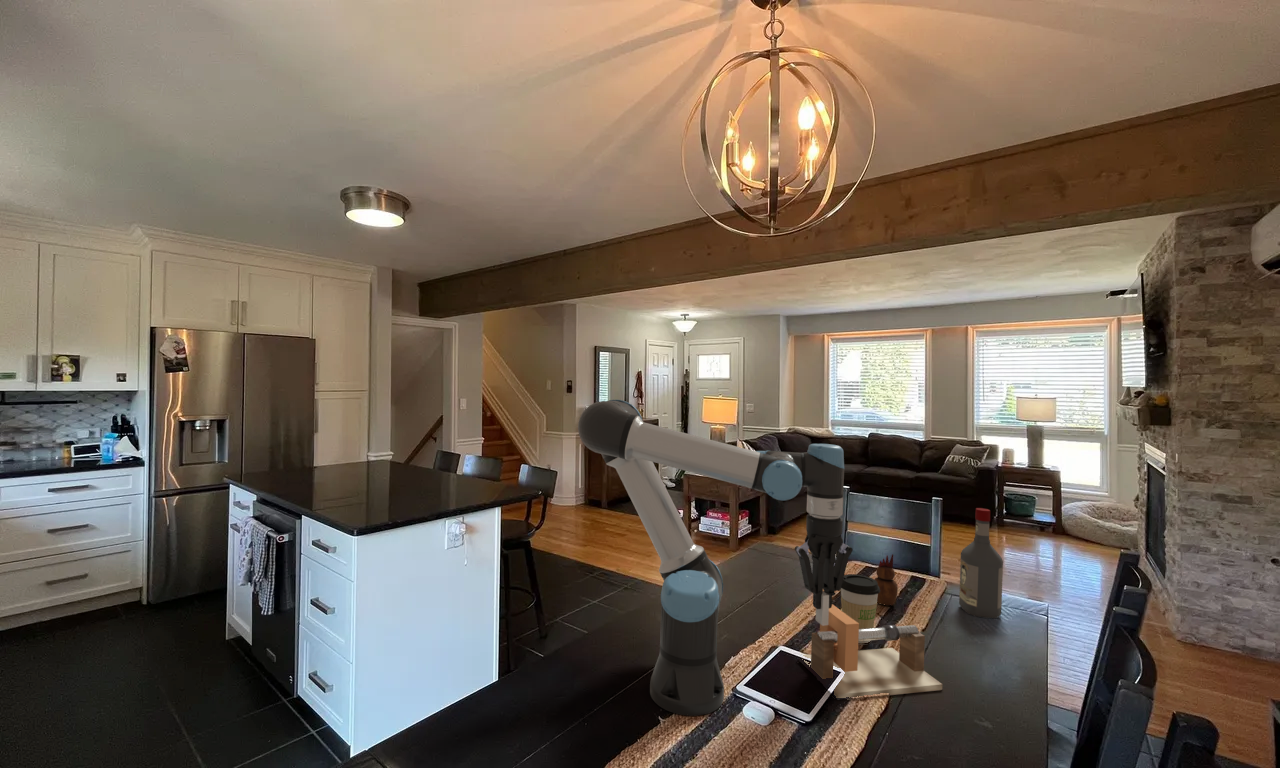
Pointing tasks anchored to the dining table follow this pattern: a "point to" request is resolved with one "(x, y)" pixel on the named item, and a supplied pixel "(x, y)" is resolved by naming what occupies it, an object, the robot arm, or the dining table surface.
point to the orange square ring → (844, 639)
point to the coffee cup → (860, 599)
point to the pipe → (875, 633)
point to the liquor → (981, 573)
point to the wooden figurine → (886, 582)
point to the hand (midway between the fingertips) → (821, 622)
